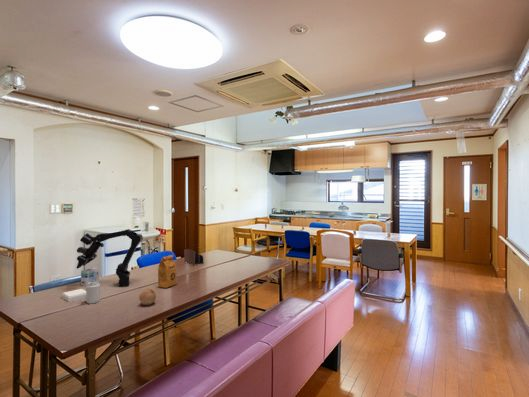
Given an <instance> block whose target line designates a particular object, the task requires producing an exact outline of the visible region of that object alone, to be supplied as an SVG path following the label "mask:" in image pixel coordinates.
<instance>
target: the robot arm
mask: <svg viewBox="0 0 529 397" xmlns="http://www.w3.org/2000/svg"><path fill="white" fill-rule="evenodd" d="M125 236H126V237H128V238H129V239H130V240H131V241H130V242H131V243H130V246H129V248H128V251H127V253H126V254H125V257H124V259H123V260H122V262H121V263H119V264H117V267H116V269H115V275H116V276H117V277H118V287H120V288H122V287H129V286H130V285H131V284H130V275H131V272H130V271H129V270H128V269H129V264H130V262H131V259H132V257H133V256H134V253H135V252H136V249H137V247H138V246H139V245H140V244H141V242H142V241H143V239H144V237H143V235H142V234H140V233H138V232H135V231H133V230H132V229H129V228H128V229H124V230H119V231H115V232H101V233H98V234H97V235H96V236H92V235H90V233H86V234H84V235H83V236H82V237H81V238H80V239H79V240H80V242H81V243H83V244H84V245H86V246H89V247H83V246H79V247H78V248H77V249H76V253H78V254H79V253H80V254H82V255H80V254H79V255H78V256H77V258H76V261H78V262H77V264H76V269H79V268H81V267H83V266H84V267H85V266H86V265H87V264H89V263H91V262H92V261H94V260H95V259H96V258H97V256H98V254H97V253H98V251H99V249H100V248H104V247H105V244H104V241H107V240H110V239H114V238H119V237H125Z"/></svg>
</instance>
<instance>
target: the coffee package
mask: <svg viewBox="0 0 529 397" xmlns="http://www.w3.org/2000/svg"><path fill="white" fill-rule="evenodd" d="M173 258H174V255H173V254H170V255H168V256H163V257H161V259H160V261H159V263H158V267H157V281H158V282H157V284H158V285H157V286H158V288H164V289H167V288H170V287H173V286H176V285H177V283H178V278H177V273H178V272H177V266H176V264H175V262H174V259H173Z"/></svg>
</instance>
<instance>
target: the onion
mask: <svg viewBox="0 0 529 397" xmlns="http://www.w3.org/2000/svg"><path fill="white" fill-rule="evenodd" d="M138 298H139V302H140V303H141V304H142V305H144V306H150V305H152V304H153V303H154V302H155V301H156V299H157V294H156V292H155V291H154V290H153V288H148V289H144V290H142V291H141V292H140V294H139V297H138Z"/></svg>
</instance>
